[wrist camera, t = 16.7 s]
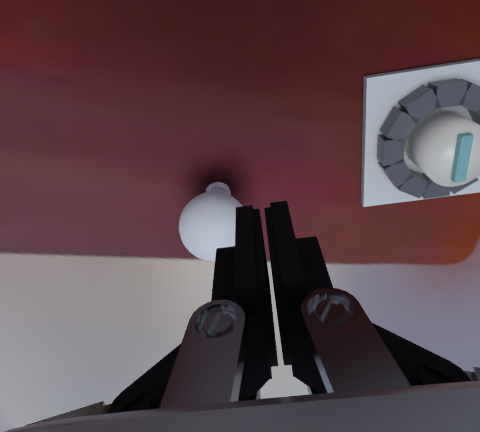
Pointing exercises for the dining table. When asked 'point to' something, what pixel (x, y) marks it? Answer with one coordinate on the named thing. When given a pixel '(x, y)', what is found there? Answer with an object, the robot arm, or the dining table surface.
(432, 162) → the knob
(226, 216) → the light bulb
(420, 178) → the segmented ring plate
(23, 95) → the dining table surface
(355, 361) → the robot arm
